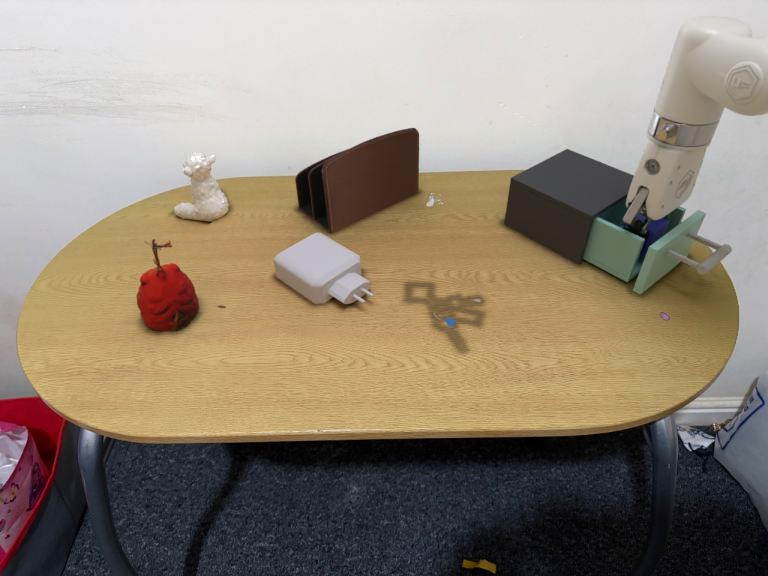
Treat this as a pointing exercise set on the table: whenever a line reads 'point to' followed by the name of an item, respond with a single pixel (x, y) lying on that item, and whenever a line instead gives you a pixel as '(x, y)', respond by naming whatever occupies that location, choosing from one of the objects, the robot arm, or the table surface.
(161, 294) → the red lumpy rounded piece
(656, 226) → the cube
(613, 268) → the mint green drawer
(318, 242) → the charger
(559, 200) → the housing
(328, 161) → the letter holder
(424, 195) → the table surface
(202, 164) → the sitting furry creature
